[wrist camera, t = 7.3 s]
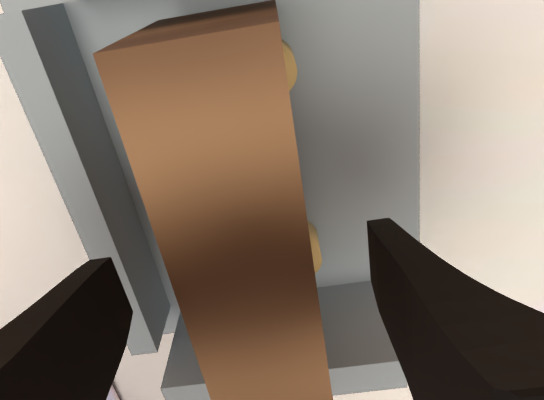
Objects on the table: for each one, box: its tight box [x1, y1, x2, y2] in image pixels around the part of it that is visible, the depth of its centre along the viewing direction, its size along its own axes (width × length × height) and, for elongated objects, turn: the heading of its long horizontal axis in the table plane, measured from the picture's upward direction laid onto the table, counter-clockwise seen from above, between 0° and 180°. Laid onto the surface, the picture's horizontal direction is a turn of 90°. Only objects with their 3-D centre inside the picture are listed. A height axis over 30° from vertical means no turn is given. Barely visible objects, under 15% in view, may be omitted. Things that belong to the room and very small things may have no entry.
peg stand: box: [0, 0, 419, 400], centre depth 17 cm, size 18×14×6 cm
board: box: [93, 0, 333, 400], centre depth 14 cm, size 12×4×6 cm, turn 9°
